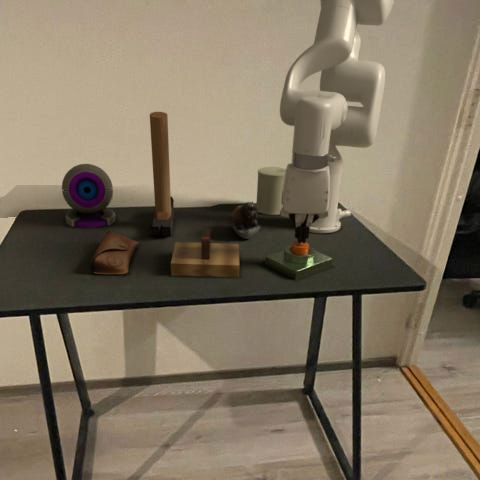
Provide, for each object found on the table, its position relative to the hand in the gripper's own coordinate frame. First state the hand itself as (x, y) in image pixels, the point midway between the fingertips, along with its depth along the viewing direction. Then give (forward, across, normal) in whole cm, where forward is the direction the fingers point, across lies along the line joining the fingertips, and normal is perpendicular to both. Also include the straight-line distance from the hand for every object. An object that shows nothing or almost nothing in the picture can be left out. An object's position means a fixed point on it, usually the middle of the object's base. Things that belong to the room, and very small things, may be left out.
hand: (301, 240), depth 123 cm
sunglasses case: (+6, +43, 0) cm, 43 cm away
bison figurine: (+7, +12, -18) cm, 23 cm away
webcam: (+6, +54, -25) cm, 60 cm away
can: (+7, +4, -38) cm, 39 cm away
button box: (+6, 0, +1) cm, 6 cm away
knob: (+3, +22, +2) cm, 22 cm away
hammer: (+6, +34, -22) cm, 41 cm away
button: (+2, 0, +1) cm, 2 cm away
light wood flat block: (+6, +22, +2) cm, 23 cm away
